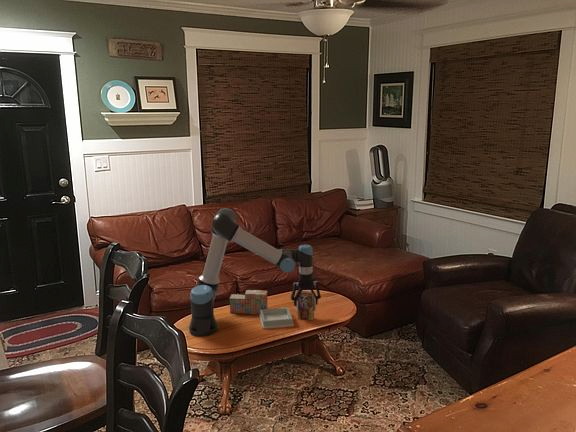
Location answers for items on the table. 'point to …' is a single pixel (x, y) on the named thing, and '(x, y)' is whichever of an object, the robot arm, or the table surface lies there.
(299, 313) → the candy box
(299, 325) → the table surface
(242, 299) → the stack of blocks
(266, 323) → the open storage bin
